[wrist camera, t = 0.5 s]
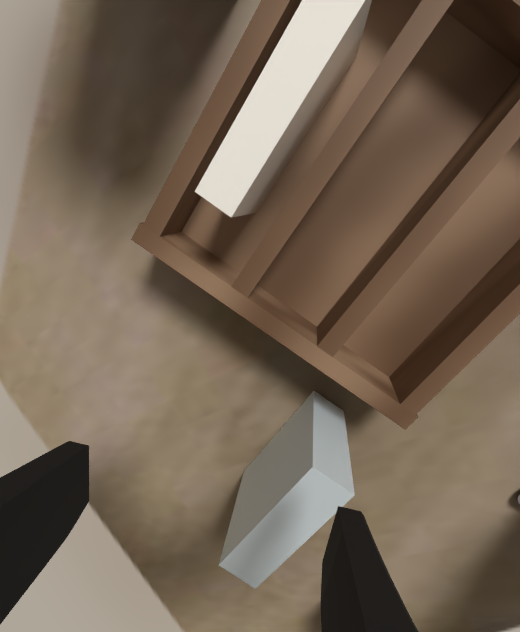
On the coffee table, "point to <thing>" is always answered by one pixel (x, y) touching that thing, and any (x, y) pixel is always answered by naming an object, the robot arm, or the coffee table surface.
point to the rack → (371, 203)
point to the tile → (284, 103)
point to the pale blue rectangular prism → (289, 491)
